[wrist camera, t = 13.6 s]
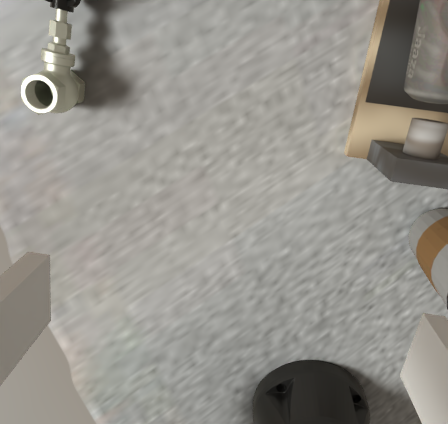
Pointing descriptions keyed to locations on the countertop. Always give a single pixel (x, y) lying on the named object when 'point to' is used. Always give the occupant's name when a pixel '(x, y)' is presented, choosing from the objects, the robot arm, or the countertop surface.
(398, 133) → the shaft bed
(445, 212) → the coffee cup
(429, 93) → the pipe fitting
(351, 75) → the countertop surface
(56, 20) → the valve
